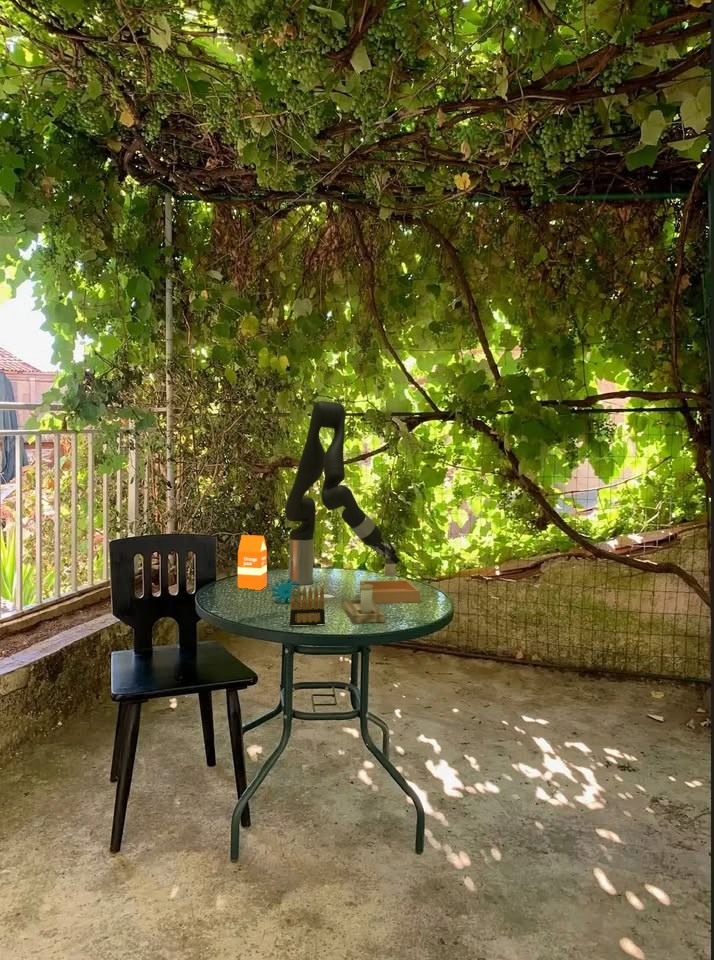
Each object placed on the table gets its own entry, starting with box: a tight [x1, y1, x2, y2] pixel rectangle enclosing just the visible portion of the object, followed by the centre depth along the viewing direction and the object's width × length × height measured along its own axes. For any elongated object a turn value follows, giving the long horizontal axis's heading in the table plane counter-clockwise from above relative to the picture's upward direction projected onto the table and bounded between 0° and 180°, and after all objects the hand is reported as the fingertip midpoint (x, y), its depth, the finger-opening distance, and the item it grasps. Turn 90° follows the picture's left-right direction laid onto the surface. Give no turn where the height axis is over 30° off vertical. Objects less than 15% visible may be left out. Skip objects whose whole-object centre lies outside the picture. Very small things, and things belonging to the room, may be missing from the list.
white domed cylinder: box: [384, 543, 397, 578], centre depth 251 cm, size 4×4×11 cm
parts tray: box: [359, 579, 421, 605], centre depth 252 cm, size 18×18×4 cm
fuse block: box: [341, 598, 385, 624], centre depth 227 cm, size 10×21×2 cm, turn 10°
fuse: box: [359, 584, 373, 614], centre depth 221 cm, size 4×4×11 cm
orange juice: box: [237, 534, 268, 590], centre depth 261 cm, size 8×9×20 cm
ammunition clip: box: [289, 585, 326, 626], centre depth 213 cm, size 11×2×12 cm, turn 100°
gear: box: [271, 577, 303, 605], centre depth 244 cm, size 11×6×10 cm
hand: (394, 561), depth 252 cm, fingers closed on white domed cylinder, 3 cm apart
